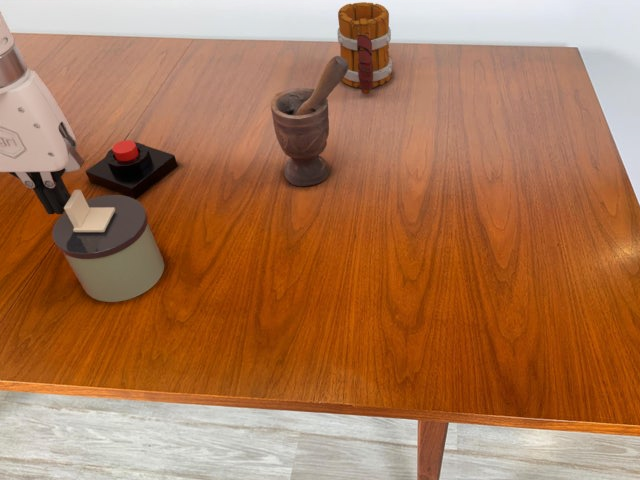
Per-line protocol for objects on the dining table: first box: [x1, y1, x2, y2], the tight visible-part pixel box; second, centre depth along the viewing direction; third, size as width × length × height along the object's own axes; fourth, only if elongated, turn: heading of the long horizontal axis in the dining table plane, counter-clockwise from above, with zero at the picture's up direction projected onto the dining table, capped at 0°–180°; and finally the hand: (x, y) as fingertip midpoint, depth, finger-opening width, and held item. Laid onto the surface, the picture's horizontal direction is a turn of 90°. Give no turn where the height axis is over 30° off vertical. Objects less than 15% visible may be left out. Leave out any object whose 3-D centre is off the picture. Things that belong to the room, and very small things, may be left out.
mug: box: [337, 1, 393, 95], centre depth 111 cm, size 11×16×15 cm, turn 2°
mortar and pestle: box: [270, 55, 348, 187], centre depth 89 cm, size 12×9×20 cm
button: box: [111, 139, 139, 161], centre depth 93 cm, size 4×4×2 cm
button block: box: [85, 139, 179, 200], centre depth 95 cm, size 10×10×4 cm
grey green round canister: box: [52, 194, 165, 303], centre depth 78 cm, size 11×11×9 cm
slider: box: [64, 189, 115, 232], centre depth 73 cm, size 4×4×4 cm
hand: (60, 207), depth 73 cm, fingers closed
